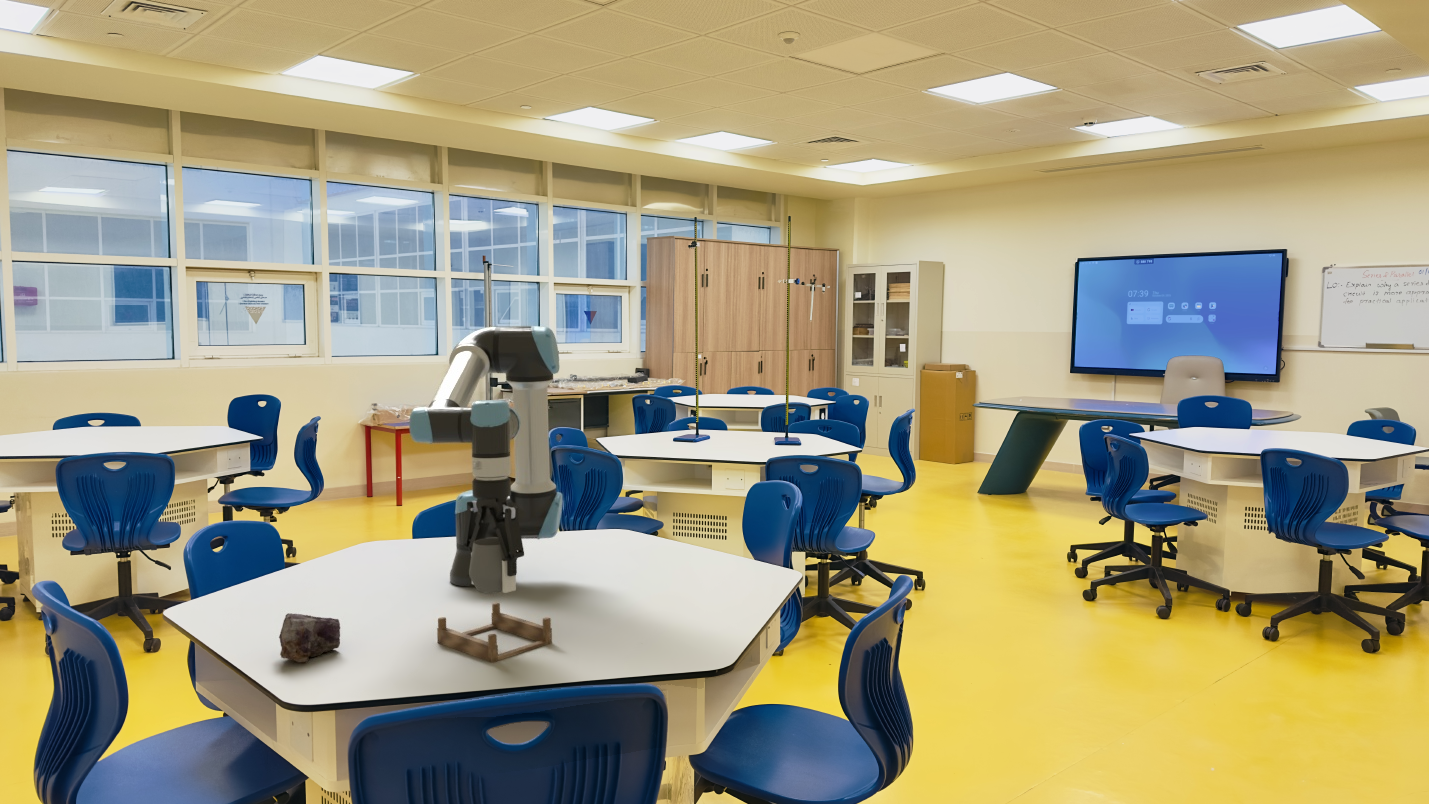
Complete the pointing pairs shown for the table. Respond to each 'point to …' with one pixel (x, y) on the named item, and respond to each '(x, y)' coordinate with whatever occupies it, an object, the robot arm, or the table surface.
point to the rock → (308, 636)
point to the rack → (495, 636)
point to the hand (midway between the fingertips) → (493, 587)
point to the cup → (487, 565)
